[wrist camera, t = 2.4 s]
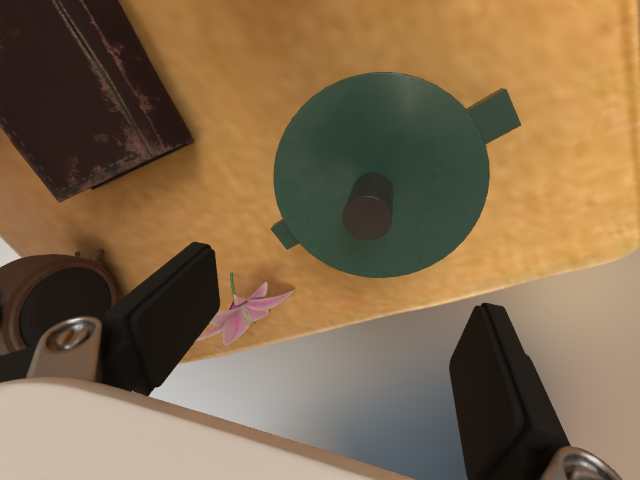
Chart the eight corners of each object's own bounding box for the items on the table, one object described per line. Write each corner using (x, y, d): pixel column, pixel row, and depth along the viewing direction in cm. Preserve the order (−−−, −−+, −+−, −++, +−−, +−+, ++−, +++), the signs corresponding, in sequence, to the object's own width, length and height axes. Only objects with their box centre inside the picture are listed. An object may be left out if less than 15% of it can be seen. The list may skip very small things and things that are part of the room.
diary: (25, -193, 22) (-64, -256, 18) (202, 138, 32) (171, 149, 27) (-80, -46, 29) (-162, -67, 25) (92, 190, 38) (54, 204, 34)
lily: (234, 316, 46) (237, 376, 38) (171, 277, 38) (161, 344, 31) (299, 276, 44) (315, 332, 37) (248, 227, 36) (256, 286, 29)
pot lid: (241, 154, 23) (200, 176, 18) (422, 12, 16) (432, -13, 12) (344, 292, 27) (332, 340, 22) (519, 221, 21) (556, 267, 16)
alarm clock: (143, 311, 48) (5, 441, 31) (107, 308, 50) (-42, 429, 33) (105, 231, 42) (-99, 342, 25) (64, 230, 43) (-151, 333, 26)
